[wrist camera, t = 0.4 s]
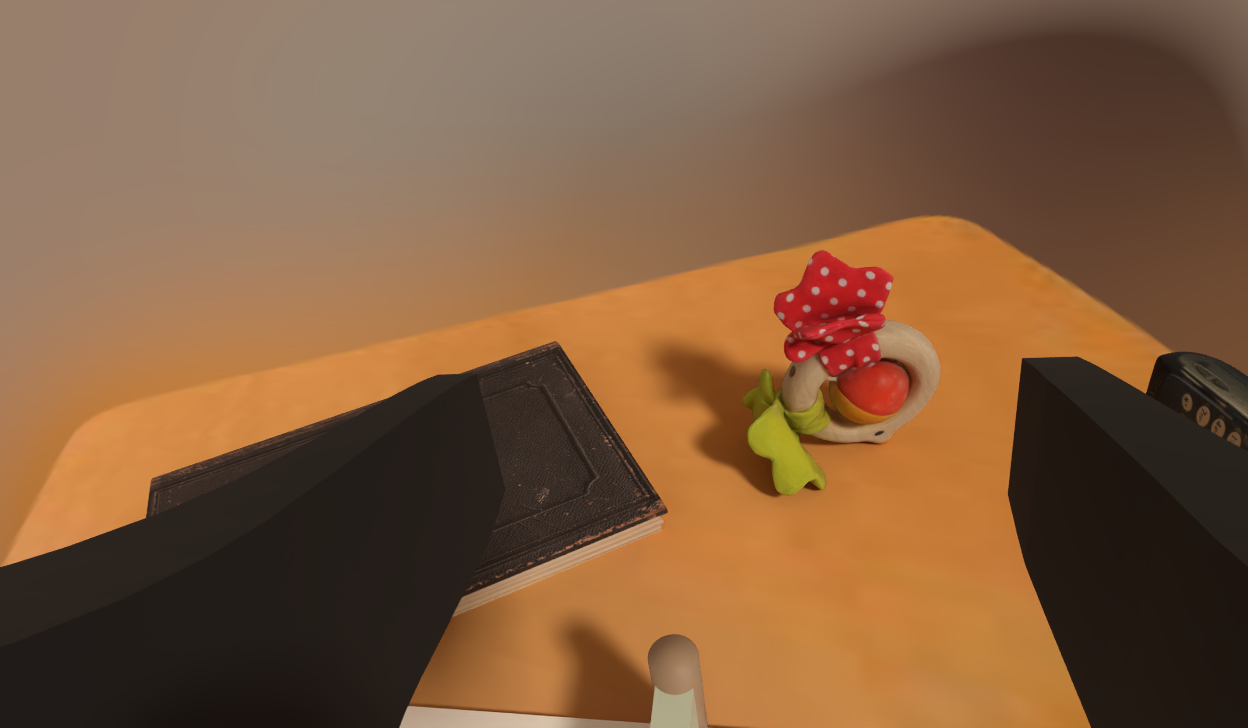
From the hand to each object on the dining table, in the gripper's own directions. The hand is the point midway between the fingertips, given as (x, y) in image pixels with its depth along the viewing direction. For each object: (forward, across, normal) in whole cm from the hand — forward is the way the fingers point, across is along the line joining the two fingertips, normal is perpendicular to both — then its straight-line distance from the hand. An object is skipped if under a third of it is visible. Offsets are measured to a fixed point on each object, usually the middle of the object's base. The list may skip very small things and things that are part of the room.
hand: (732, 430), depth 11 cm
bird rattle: (+25, -2, +17) cm, 30 cm away
